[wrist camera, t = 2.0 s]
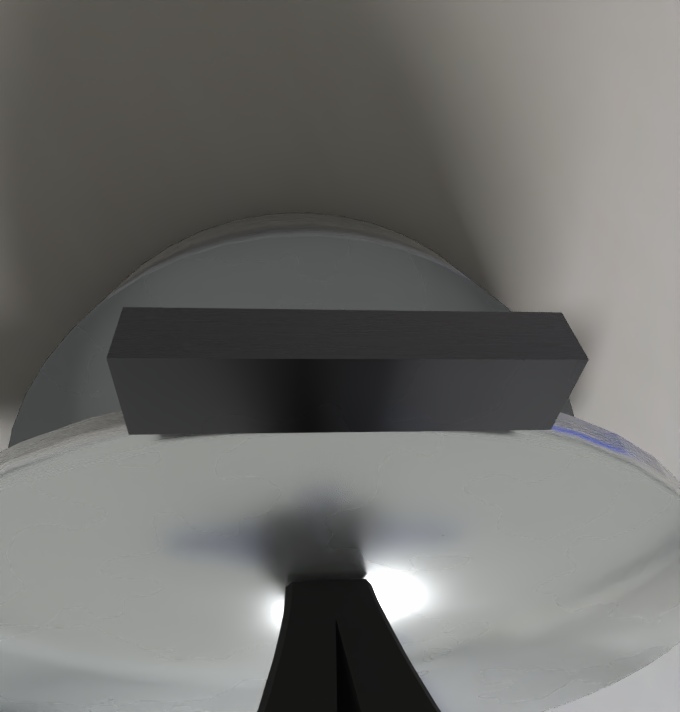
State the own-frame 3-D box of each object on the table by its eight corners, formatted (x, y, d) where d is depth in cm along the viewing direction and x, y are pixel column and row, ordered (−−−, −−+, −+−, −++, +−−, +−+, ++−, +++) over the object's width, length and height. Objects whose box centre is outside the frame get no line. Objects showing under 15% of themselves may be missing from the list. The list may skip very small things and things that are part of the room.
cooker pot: (533, 635, 24) (579, 726, 20) (37, 662, 22) (-12, 770, 18) (628, 222, 18) (721, 246, 14) (-62, 200, 15) (-170, 222, 12)
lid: (541, 712, 20) (561, 782, 18) (37, 747, 18) (15, 828, 16) (999, 317, 7) (1178, 442, 6) (-522, 299, 5) (-817, 473, 4)
